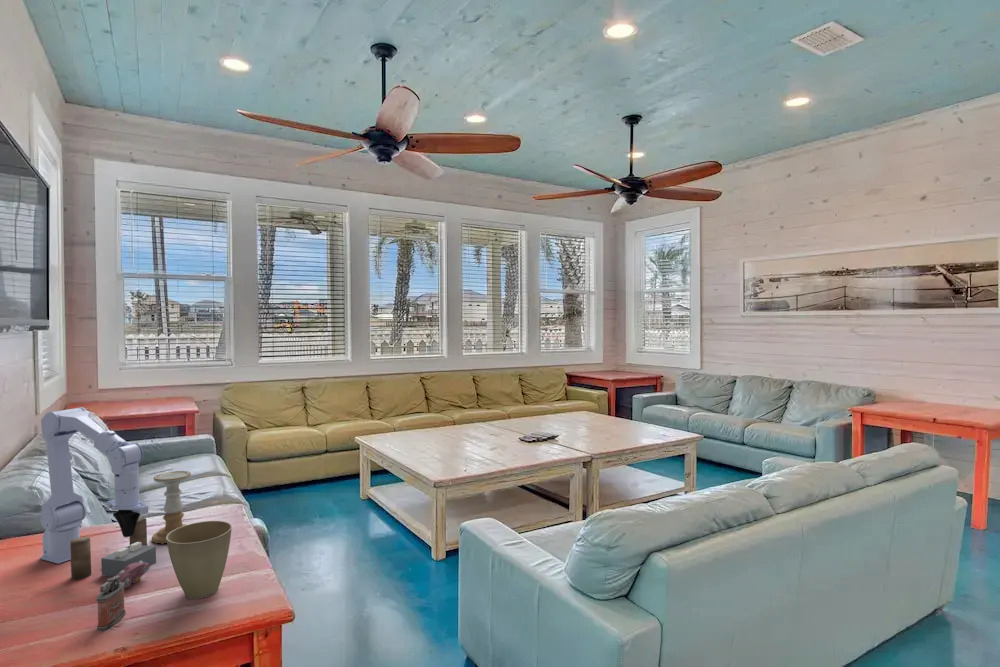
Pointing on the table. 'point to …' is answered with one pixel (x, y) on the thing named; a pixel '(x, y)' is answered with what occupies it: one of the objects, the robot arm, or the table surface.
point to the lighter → (110, 603)
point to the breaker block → (127, 558)
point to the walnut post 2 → (140, 532)
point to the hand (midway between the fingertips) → (128, 535)
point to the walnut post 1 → (80, 558)
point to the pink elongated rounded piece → (133, 572)
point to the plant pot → (199, 556)
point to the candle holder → (171, 503)
